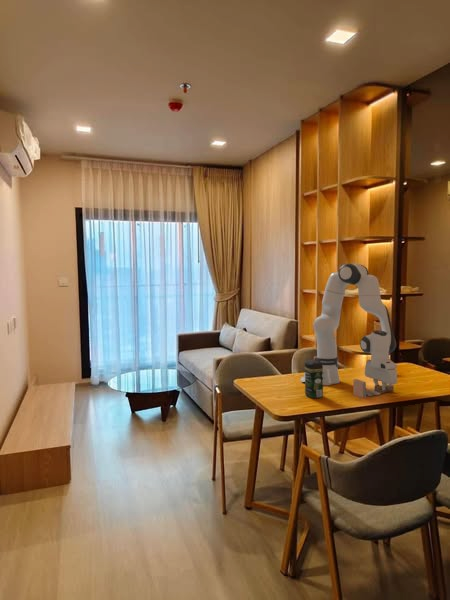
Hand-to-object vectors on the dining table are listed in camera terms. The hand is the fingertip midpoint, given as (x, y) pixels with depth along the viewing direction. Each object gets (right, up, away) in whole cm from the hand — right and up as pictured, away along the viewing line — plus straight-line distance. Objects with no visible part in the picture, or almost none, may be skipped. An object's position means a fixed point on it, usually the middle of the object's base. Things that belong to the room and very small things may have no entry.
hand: (380, 389), depth 210 cm
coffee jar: (-35, -4, -2) cm, 35 cm away
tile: (-11, -3, -4) cm, 12 cm away
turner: (-1, -2, 0) cm, 2 cm away
